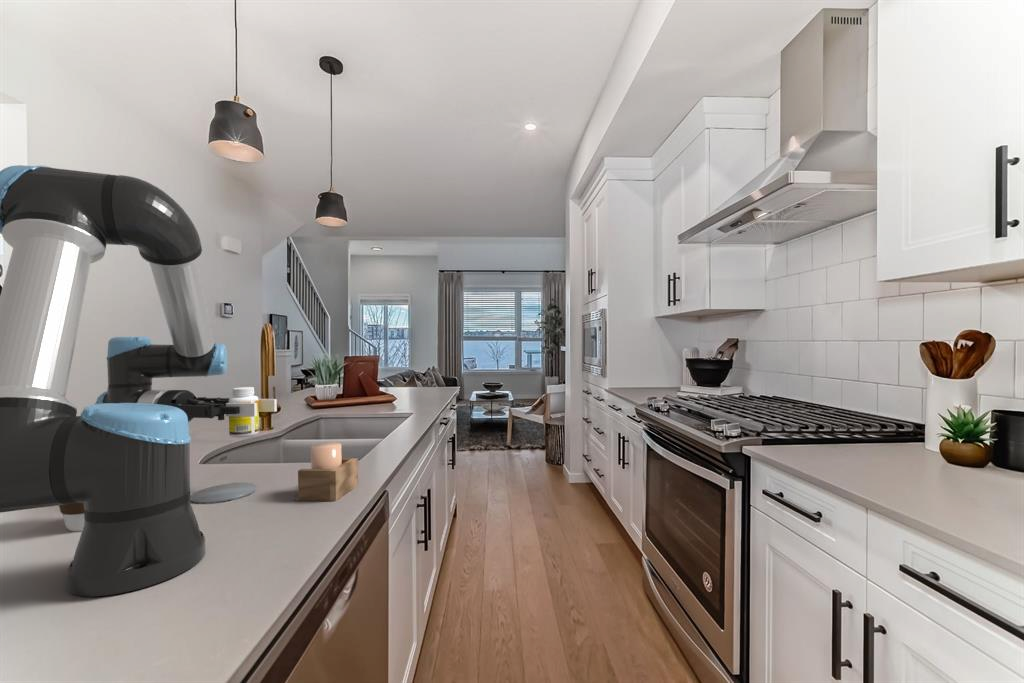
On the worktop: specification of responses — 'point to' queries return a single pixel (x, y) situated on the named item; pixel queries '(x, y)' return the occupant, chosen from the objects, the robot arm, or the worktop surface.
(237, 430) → the supplement bottle
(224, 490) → the slate coaster
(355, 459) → the wooden base
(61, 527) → the worktop surface
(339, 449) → the peach cylinder
